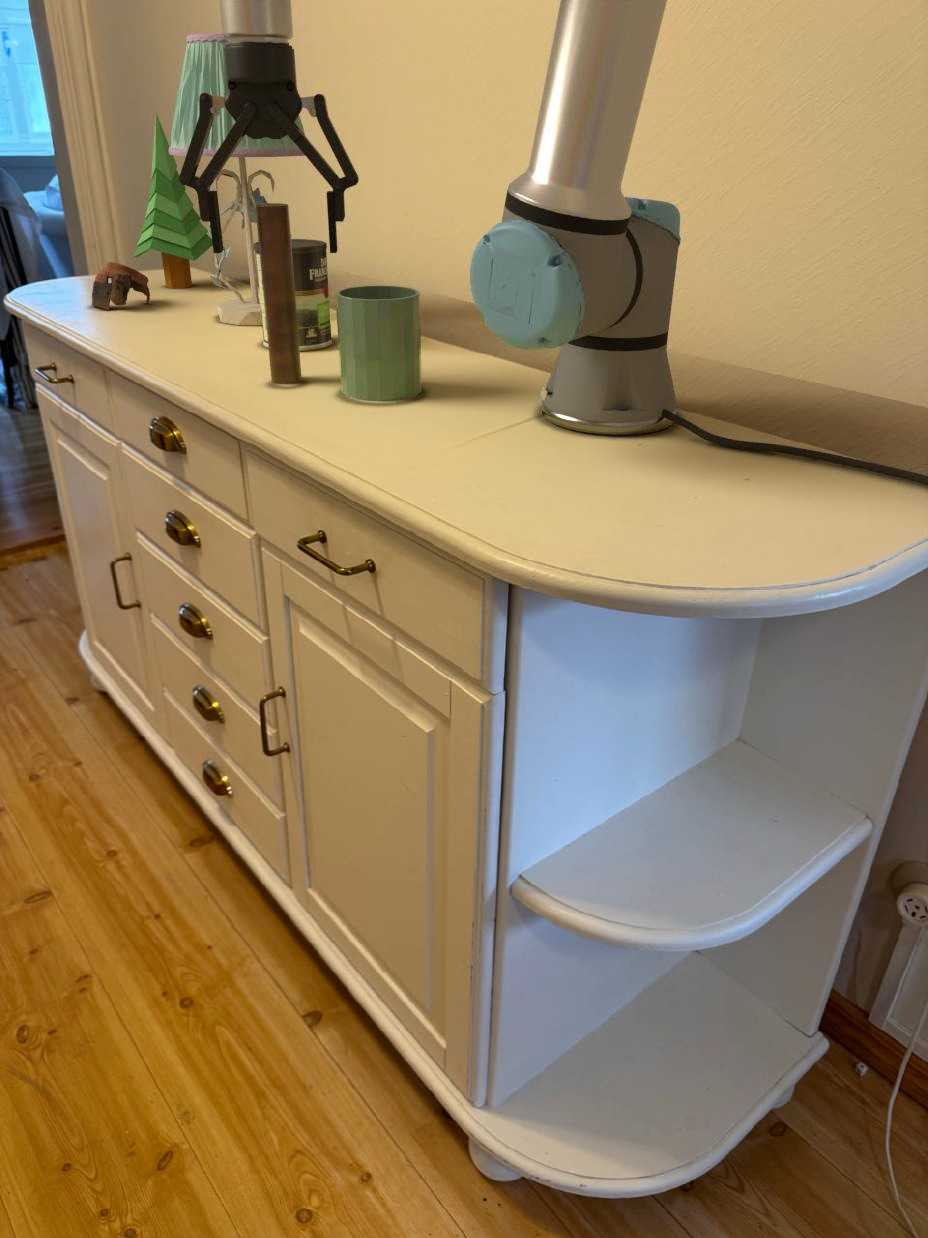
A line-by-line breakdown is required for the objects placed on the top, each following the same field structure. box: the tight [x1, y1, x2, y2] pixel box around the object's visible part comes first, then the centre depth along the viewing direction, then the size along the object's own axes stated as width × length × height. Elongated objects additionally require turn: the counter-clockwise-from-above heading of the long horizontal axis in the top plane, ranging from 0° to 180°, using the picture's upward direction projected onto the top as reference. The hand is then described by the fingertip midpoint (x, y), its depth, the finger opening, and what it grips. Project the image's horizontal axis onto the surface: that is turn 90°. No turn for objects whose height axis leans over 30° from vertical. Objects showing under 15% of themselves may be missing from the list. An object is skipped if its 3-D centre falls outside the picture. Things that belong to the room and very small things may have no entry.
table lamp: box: [169, 33, 306, 326], centre depth 145 cm, size 22×22×40 cm
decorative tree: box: [132, 112, 213, 289], centre depth 174 cm, size 14×16×30 cm
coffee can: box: [253, 238, 333, 352], centre depth 135 cm, size 10×10×14 cm
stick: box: [255, 202, 303, 385], centre depth 113 cm, size 4×4×21 cm
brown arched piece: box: [91, 261, 151, 311], centre depth 161 cm, size 12×10×8 cm
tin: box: [335, 284, 423, 402], centre depth 112 cm, size 10×10×12 cm
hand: (276, 251), depth 110 cm, fingers open, 13 cm apart
